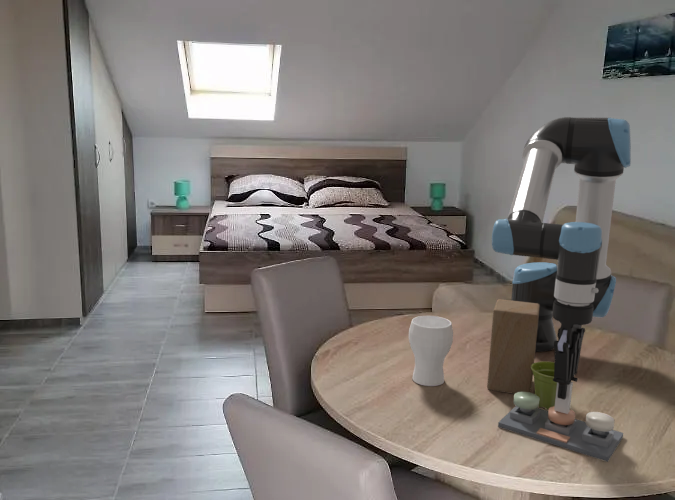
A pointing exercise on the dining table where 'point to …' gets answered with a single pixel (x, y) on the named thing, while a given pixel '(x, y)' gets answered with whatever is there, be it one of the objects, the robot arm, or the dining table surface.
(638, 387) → the dining table surface
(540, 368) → the plant pot
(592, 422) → the button cream
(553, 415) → the button terracotta
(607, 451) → the console
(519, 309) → the wooden block
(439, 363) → the cup
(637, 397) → the dining table surface
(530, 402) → the button sage
